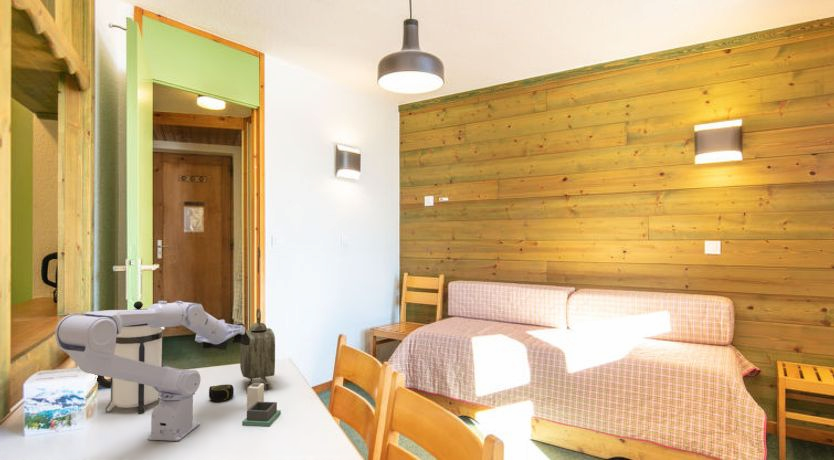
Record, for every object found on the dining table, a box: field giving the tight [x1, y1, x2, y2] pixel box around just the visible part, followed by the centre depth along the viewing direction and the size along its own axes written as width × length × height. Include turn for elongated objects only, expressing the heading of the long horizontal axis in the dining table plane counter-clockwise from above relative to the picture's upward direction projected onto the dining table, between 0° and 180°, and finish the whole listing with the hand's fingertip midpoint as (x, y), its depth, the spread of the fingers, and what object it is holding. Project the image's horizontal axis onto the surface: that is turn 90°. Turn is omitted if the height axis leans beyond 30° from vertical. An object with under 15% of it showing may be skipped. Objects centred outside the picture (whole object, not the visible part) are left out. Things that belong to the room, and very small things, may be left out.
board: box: [241, 401, 282, 427], centre depth 120 cm, size 8×7×4 cm
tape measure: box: [208, 384, 235, 402], centre depth 134 cm, size 7×7×4 cm
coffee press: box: [96, 300, 165, 415], centre depth 128 cm, size 17×16×30 cm
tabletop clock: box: [239, 308, 276, 390], centre depth 146 cm, size 14×9×25 cm, turn 27°
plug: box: [246, 382, 265, 410], centre depth 128 cm, size 4×3×7 cm
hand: (237, 344), depth 133 cm, fingers open, 7 cm apart
